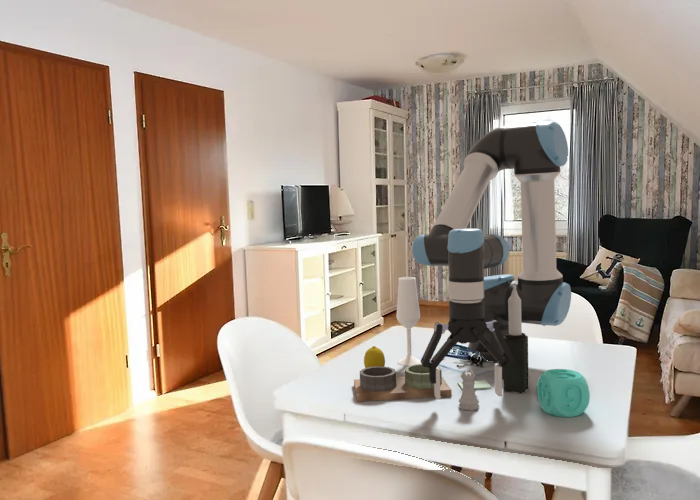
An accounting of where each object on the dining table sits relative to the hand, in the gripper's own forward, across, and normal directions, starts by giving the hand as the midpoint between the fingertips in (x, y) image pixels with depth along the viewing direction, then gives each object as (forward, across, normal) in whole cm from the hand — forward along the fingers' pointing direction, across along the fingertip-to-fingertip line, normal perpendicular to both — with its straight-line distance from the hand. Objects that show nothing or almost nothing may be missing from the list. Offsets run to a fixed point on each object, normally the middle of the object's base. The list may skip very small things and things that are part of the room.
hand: (468, 396), depth 130 cm
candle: (+3, -14, -10) cm, 18 cm away
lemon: (+3, +18, -27) cm, 33 cm away
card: (+2, -5, -14) cm, 15 cm away
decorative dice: (+3, -19, +5) cm, 20 cm away
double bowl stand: (+3, +13, -14) cm, 19 cm away
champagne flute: (+2, +7, -38) cm, 39 cm away
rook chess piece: (+3, 0, 0) cm, 3 cm away
